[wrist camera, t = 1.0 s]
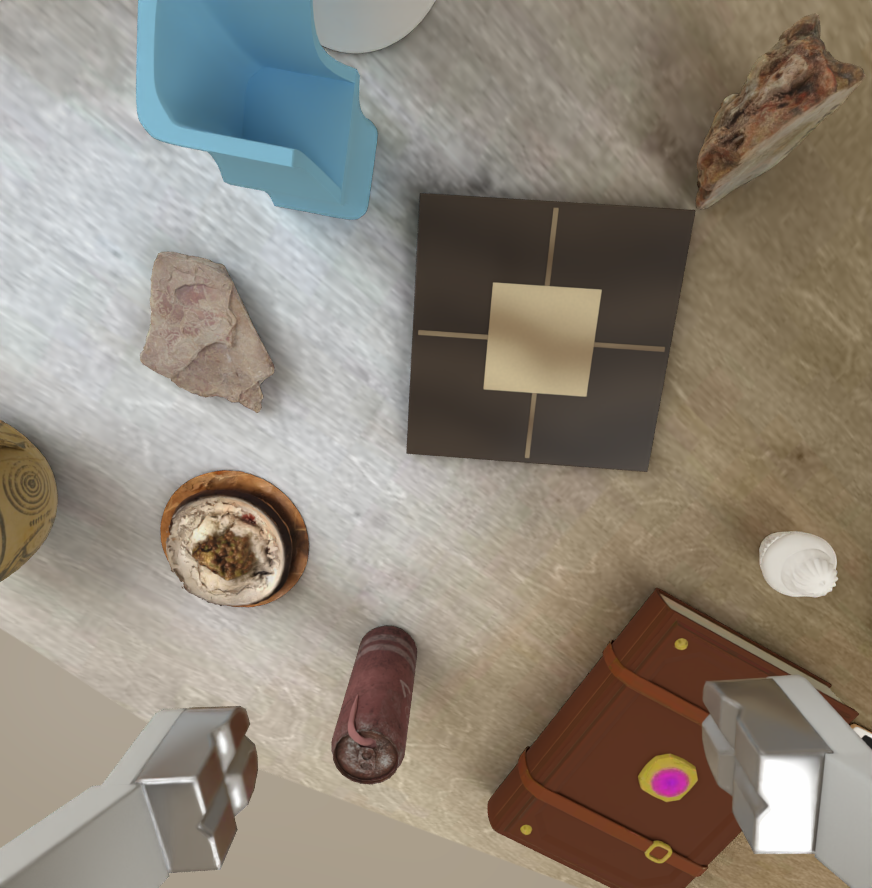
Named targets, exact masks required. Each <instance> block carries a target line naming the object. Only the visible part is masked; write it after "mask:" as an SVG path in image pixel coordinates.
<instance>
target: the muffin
mask: <svg viewBox="0 0 872 888" xmlns="http://www.w3.org/2000/svg"><path fill="white" fill-rule="evenodd" d="M759 555H760V568H761V569H762V573H763V576H764V578H765V580H766V582H767V583H768V584H769V585H770V586H771V587H772V588H773V589H774V590H776V591H778V592H780V593H782V594H785V595H788V596H793V597H802V596H809V597H810V596H811V597H819V596H824V595H826V594H827V592H831V591H832V587H835V586H836V584H835V582H836V581H837V580H838V577H836V575H837V570H835V569H836V565H837V559H836V555H835V552H834V550H833V548H832V547H831V546H830V544H829V543H828V542H827V541H825V540H824V539H822V538H821V537H819V536H816V535H813V534H810V533H804V532H798V531H789V532H776V533H772V534H771V535H768V536H767V537H766V538H765V539H763V541H762V543H761V544H760V548H759Z"/></svg>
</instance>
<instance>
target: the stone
mask: <svg viewBox="0 0 872 888" xmlns="http://www.w3.org/2000/svg"><path fill="white" fill-rule="evenodd" d="M151 282H152V283H151V297H150V306H151V311H152V312H151V324H150V329H149V332H148V334H147V337H146V344H145V346H144V350H143V351H142V352H141V353H140V360H141V362H142V363H143V364H144V365H145V366H147V367H149V368H150V369H152V370H153V371H155V372H157V373H159V374H161V375H163V376H165V377H167V378H170V379H171V381H173V382H174V383H175V384H176V385H177V386H178V387H180V388H183V389H185V390H187V391H189V392H191V393H193V394H198V395H199V396H203V397H213V396H219V397H225V398H227V400H229V401H231V402H240V403H241V404H242V405H243V406H245V407H247V408H249V409H251V410H253V411H255V412H256V413H258V412H259V411H260V410H261V408H262V406H261V402H262V399H263V394H262V391H261V388H260V384H261V383H263V382H264V380H265V379H267V378H268V377H269V376H271V375H272V374H273V373H274V371H275V370H274V364H273V362H272V360H271V358H270V357H269V355H268V353H267V351H266V349H265V347H264V345H263V343H262V342H261V340H260V337H259V335H258V333H257V331H256V329H255V328H254V326H253V324H252V322H251V320H250V317H249V315H248V313H247V311H246V309H245V306H244V304H243V302H242V300H241V298H240V297H239V294H238V292H237V290H236V287H235V285H234V283H233V281H232V279H231V278H230V276H229V274H228V272H227V270H226V268H225V266H224V265H222V264H217V263H213V262H212V261H211V260H208V259H204V258H200V257H195V256H188V255H184V254H180V253H176V252H161V253H158V256H157V258H156V260H155V262H154V265H153V269H152V276H151Z"/></svg>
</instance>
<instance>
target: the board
mask: <svg viewBox="0 0 872 888" xmlns="http://www.w3.org/2000/svg"><path fill="white" fill-rule="evenodd" d="M694 216H695V210H686V209H670V208H654V207H638V206H622V205H605V204H589V203H573V202H557V201H541V200H525V199H508V198H492V197H476V196H460V195H444V194H427V193H420V200H419V219H418V239H417V258H416V278H415V297H414V316H413V336H412V355H411V375H410V394H409V414H408V433H407V452H406V453H407V454H419V455H433V456H446V457H459V458H472V459H485V460H498V461H512V462H525V463H538V464H551V465H564V466H577V467H591V468H604V469H617V470H630V471H643V472H647V471H648V466H649V461H650V455H651V450H652V444H653V439H654V433H655V428H656V423H657V417H658V412H659V406H660V401H661V395H662V390H663V385H664V379H665V374H666V368H667V363H668V357H669V352H670V347H671V341H672V336H673V330H674V325H675V319H676V314H677V309H678V303H679V298H680V292H681V287H682V281H683V276H684V271H685V265H686V260H687V254H688V249H689V243H690V238H691V233H692V227H693V222H694Z"/></svg>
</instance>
